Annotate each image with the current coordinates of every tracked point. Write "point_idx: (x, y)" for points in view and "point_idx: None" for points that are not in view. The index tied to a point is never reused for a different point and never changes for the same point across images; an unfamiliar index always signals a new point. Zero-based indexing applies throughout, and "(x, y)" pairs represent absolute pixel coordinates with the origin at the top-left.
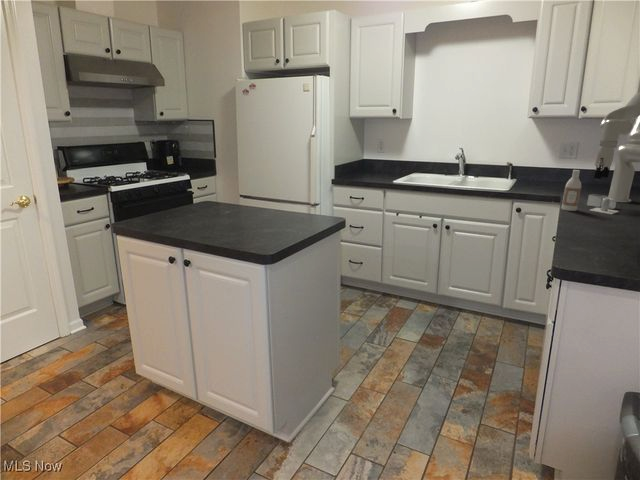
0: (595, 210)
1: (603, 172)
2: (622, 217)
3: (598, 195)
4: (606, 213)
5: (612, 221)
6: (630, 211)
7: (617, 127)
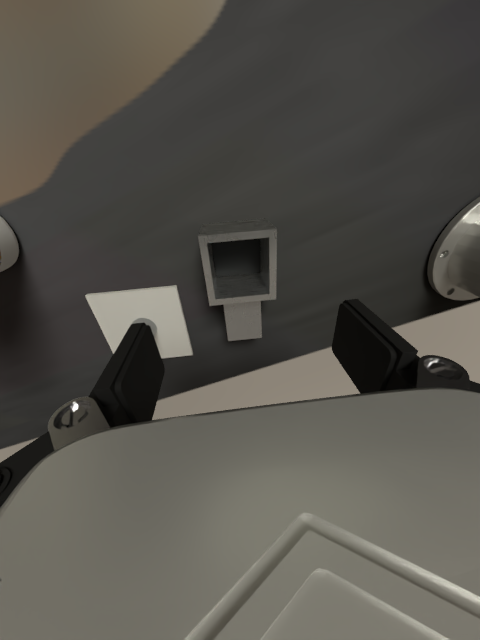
0: (104, 313)
1: (364, 344)
2: None
3: (268, 263)
4: (112, 348)
5: (21, 400)
6: (245, 364)
7: None
